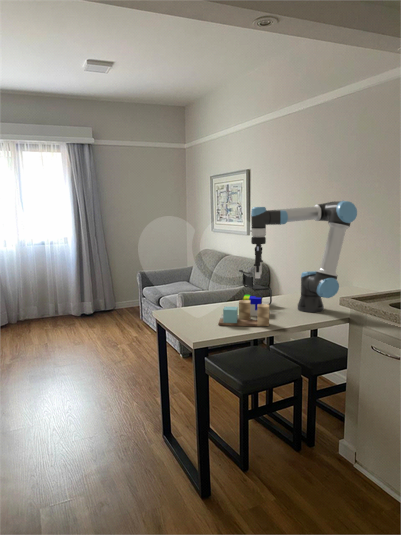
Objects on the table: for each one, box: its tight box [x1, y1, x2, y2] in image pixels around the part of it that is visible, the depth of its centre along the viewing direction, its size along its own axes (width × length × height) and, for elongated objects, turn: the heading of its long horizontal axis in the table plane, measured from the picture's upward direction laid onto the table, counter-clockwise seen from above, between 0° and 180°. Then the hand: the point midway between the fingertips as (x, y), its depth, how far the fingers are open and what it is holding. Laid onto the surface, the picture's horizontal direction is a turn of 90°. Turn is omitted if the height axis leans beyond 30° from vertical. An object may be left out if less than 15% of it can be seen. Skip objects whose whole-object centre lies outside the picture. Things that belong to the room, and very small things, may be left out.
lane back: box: [219, 299, 251, 320], centre depth 219 cm, size 16×8×10 cm, turn 81°
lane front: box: [217, 303, 270, 327], centre depth 209 cm, size 26×8×10 cm, turn 81°
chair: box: [238, 269, 273, 306], centre depth 252 cm, size 13×17×22 cm
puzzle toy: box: [242, 294, 263, 317], centre depth 231 cm, size 10×10×10 cm
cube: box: [222, 306, 239, 323], centre depth 210 cm, size 7×7×7 cm
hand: (258, 276), depth 214 cm, fingers open, 13 cm apart
